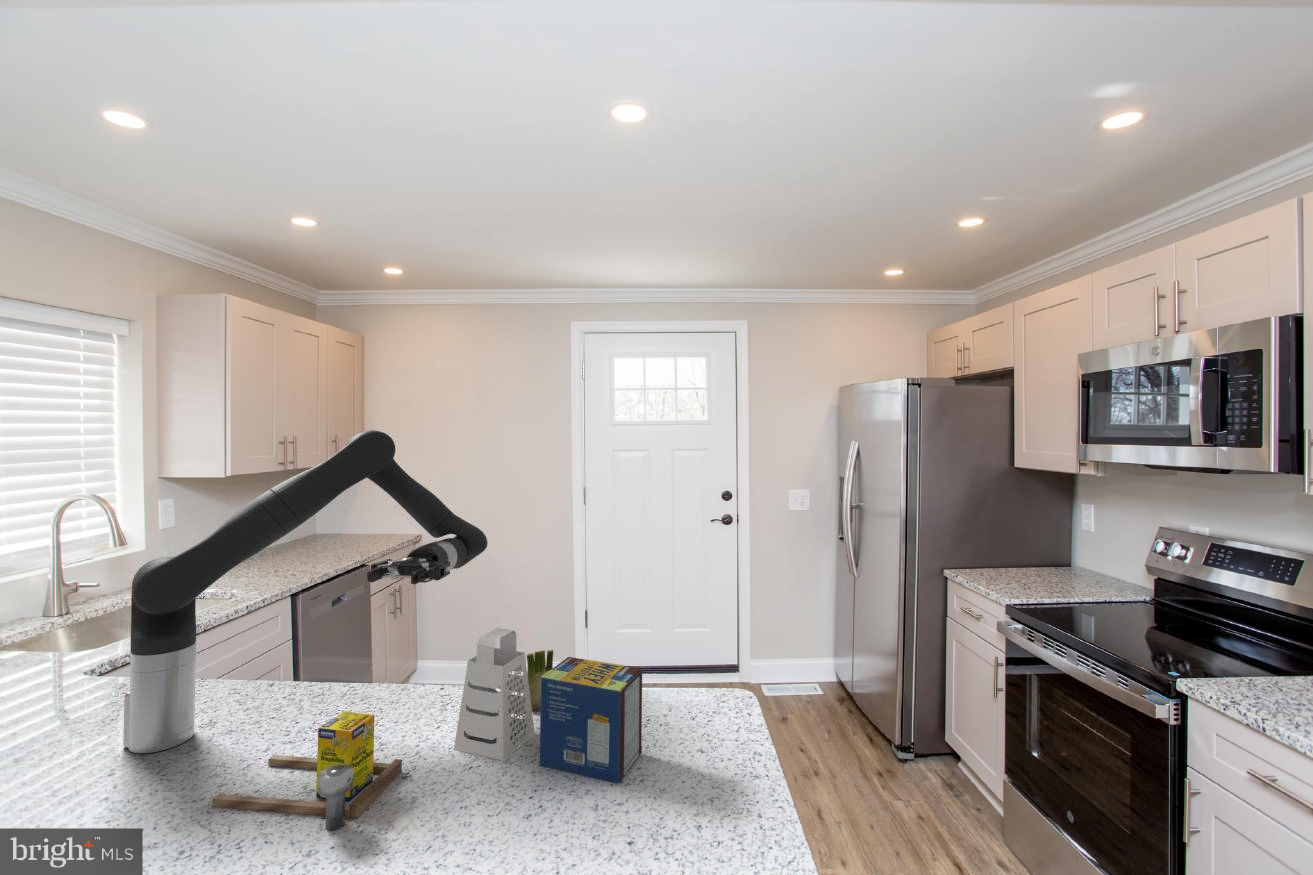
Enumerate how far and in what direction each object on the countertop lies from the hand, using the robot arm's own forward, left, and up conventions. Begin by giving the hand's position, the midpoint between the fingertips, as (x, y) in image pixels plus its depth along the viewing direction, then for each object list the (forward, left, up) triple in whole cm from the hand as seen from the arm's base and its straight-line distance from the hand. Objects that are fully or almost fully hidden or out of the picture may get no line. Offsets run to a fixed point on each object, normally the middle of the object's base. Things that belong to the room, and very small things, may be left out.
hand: (391, 577), depth 110 cm
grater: (+20, +2, -30) cm, 36 cm away
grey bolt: (+6, -24, -30) cm, 39 cm away
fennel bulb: (+24, +16, -30) cm, 42 cm away
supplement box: (+2, -16, -30) cm, 34 cm away
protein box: (+39, -2, -30) cm, 49 cm away
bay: (-4, -16, -30) cm, 34 cm away
